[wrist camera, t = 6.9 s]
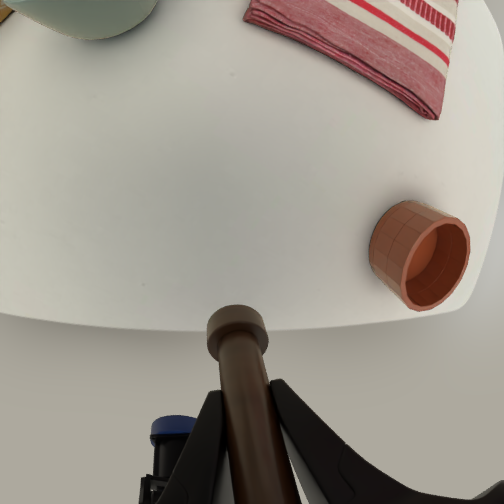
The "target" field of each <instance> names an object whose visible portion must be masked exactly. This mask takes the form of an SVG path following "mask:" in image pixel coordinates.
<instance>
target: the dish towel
mask: <svg viewBox="0 0 504 504" xmlns="http://www.w3.org/2000/svg"><path fill="white" fill-rule="evenodd" d="M457 7H458V0H251V2H250V4H249V8H248V9H247V11H246V13H245V15H244V18H243V21H245V22H249V23H253V24H255V25H258V26H260V27H263V28H265V29H267V30H270V31H273V32H276V33H279V34H282V35H284V36H287V37H289V38H291V39H293V40H295V41H297V42H300V43H302V44H304V45H306V46H309V47H311V48H313V49H315V50H317V51H319V52H321V53H323V54H325V55H326V56H328V57H330V58H332V59H334V60H336V61H338V62H340V63H341V64H343V65H345V66H347V67H348V68H350V69H352V70H354V71H356V72H357V73H359V74H361V75H363V76H365V77H366V78H368V79H370V80H371V81H373V82H375V83H376V84H378V85H380V86H381V87H383V88H384V89H386V90H387V91H389V92H390V93H392V94H393V95H395V96H396V97H398V98H399V99H401V100H402V101H403V102H405V103H406V104H407V105H408V106H409V107H411V108H412V109H413V110H415V111H416V112H417V113H418V114H420V115H421V116H422V117H424V118H426V119H429V120H439V117H440V113H441V110H442V103H443V97H444V91H445V83H446V77H447V72H448V66H449V60H450V54H451V48H452V43H453V40H454V35H455V25H456V18H457Z"/></svg>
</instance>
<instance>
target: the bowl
mask: <svg viewBox="0 0 504 504" xmlns="http://www.w3.org/2000/svg"><path fill="white" fill-rule="evenodd" d="M469 255H470V236H469V233H468V231H467V228H466V226H465V224H463V223H462V222H461V221H460V220H459V219H458V218H456V217H454V216H452V215H449V214H447V213H445V212H443V211H441V210H438V209H436V208H434V207H431V206H429V205H427V204H424V203H421V202H418V201H404V202H401V203H399V204H397V205H395V206H393V207H392V208H391V209H389V210H388V211H387V212H386V213H385V214H384V216H383V217H382V218H381V219H380V221H379V222H378V224H377V226H376V228H375V230H374V232H373V235H372V238H371V242H370V248H369V259H370V264H371V268H372V270H373V272H374V273H375V275H376V276H377V277H378V278H379V279H380V280H381V281H382V282H383V283H384V284H385V285H386V286H387V287H388V288H389V289H390V290H391V291H392V292H393V293H394V294H395V295H396V296H397V297H398V298H399V299H400V300H401V301H402V302H403V303H404V304H405V305H406V306H407V307H408V308H409V309H412V310H415V311H418V312H420V311H426V310H430V309H432V308H434V307H436V306H438V305H439V304H441V303H442V302H443V301H444V300H445V299H447V298H448V297H449V296H450V295H451V294H452V293H453V291H454V290H455V288H456V287H457V285H458V284H459V282H460V281H461V279H462V277H463V274H464V272H465V270H466V267H467V265H468V260H469Z"/></svg>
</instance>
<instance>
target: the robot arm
mask: <svg viewBox="0 0 504 504" xmlns="http://www.w3.org/2000/svg"><path fill="white" fill-rule="evenodd" d="M270 388H271V392H272V396H273V400H274V404H275V408H276V411H277V415H278V419H279V423H280V426H281V430H282V434H283V438H284V441H285V445H286V449H287V452H288V455H289V457H290V460H291V462H292V465H293V467H294V470H295V472H296V474H297V477H298V479H299V481H300V484H301V486H302V488H303V491H304V493H305V495H306V497H307V500H308V502H309V504H504V480H501V481H499V482H497V483H496V484H494V485H493V486H491V487H490V488H488V489H487V490H486V491H484V492H483V493H481V494H479V495H478V496H476V497H475V498H473V499H471V500H465V499H457V498H449V497H443V496H437V495H431V494H425V493H421V492H418V491H415V490H412V489H410V488H408V487H406V486H405V485H403V484H401V483H399V482H398V481H396V480H395V479H393V478H391V477H390V476H388V475H387V474H385V473H383V472H382V471H380V470H378V469H377V468H376V467H374V466H373V465H372V464H370V463H369V462H367V461H366V460H364V459H363V458H362V457H361V456H360V455H359V454H357V453H356V452H355V451H354V450H353V449H352V448H351V447H350V446H349V445H347V444H345V442H344V441H343V440H342V439H341V438H340V437H339V436H338V435H337V434H336V433H335V432H334V431H333V430H332V429H331V428H330V427H329V426H328V425H327V424H326V423H325V422H324V421H323V420H322V419H321V418H320V417H319V416H318V415H316V414H315V412H313V410H312V409H311V408H309V406H308V405H307V404H306V403H305V402H304V401H303V400H302V399H301V398H300V397H299V396H298V395H297V394H296V393H295V392H294V391H293V390H292V389H291V388H290V387H289V386H288V385H287V383H285V381H284V380H282V379H276V380H271V381H270ZM150 439H151V440H152V442H153V443H154V444H155V448H154V464H153V476H152V475H150V474H146V477H142V478H141V488H140V496H139V504H234V497H233V490H232V483H231V475H230V467H229V459H228V451H227V443H226V427H225V416H224V407H223V396H222V391H221V390H214V391H210V392H209V393H208V395H207V397H206V400H205V402H204V404H203V406H202V409H201V411H200V413H199V415H198V417H197V420H196V422H195V424H194V426H193V429H192V431H191V433H176V434H151V435H150ZM151 489H152V490H153V491H151ZM156 490H157V491H156Z"/></svg>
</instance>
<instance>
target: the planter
mask: <svg viewBox="0 0 504 504" xmlns="http://www.w3.org/2000/svg"><path fill="white" fill-rule="evenodd" d="M12 10H13V9H11V8H9V7H8V6H7V5H6V4H5V3H4V2H3V1H2V0H0V22H1V21H2V20H4V19H5V18H6V17H7V16H8V15H9V14H10V12H11V11H12Z"/></svg>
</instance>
